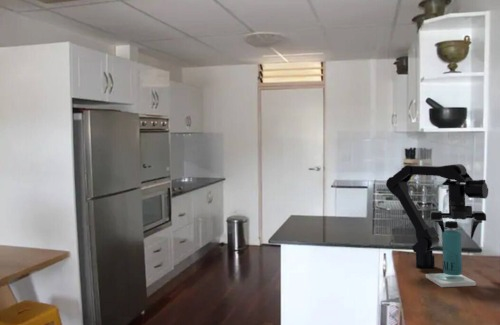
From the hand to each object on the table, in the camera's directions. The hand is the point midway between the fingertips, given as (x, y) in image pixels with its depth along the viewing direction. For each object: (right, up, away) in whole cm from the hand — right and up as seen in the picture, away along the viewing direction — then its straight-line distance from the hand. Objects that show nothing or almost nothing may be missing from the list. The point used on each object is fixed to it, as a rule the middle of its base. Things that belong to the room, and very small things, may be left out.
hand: (457, 238), depth 162 cm
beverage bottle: (-7, -12, -10) cm, 17 cm away
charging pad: (-8, -13, -10) cm, 19 cm away
